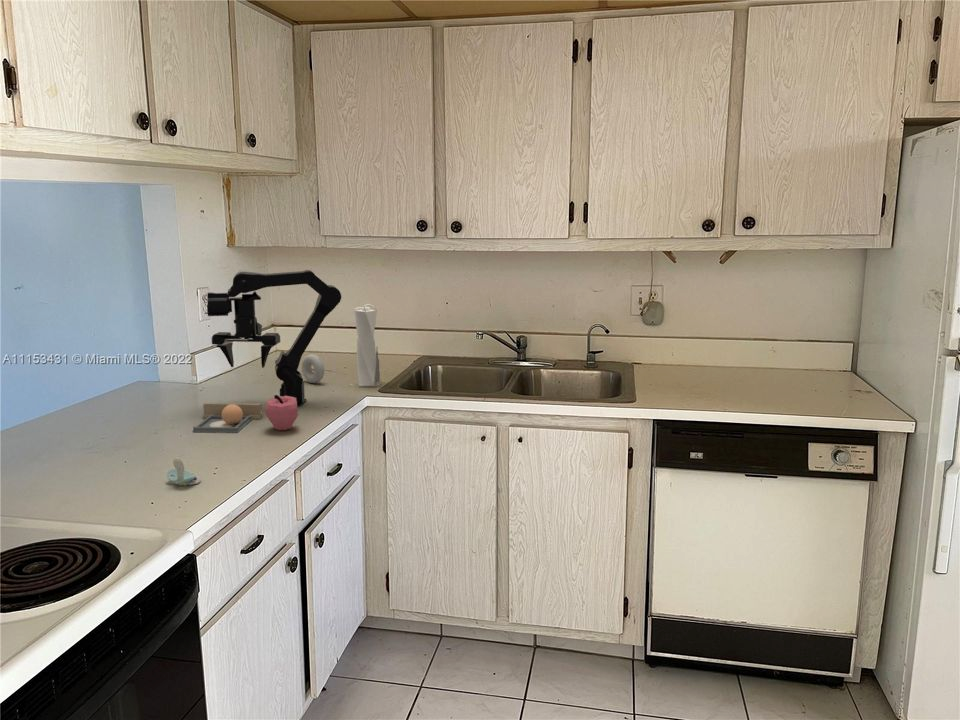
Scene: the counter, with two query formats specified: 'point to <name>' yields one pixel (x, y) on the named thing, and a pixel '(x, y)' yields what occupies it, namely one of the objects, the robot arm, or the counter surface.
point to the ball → (232, 414)
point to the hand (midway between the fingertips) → (247, 367)
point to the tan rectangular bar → (247, 409)
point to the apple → (282, 411)
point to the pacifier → (181, 474)
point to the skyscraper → (367, 347)
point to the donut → (307, 368)
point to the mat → (220, 425)
